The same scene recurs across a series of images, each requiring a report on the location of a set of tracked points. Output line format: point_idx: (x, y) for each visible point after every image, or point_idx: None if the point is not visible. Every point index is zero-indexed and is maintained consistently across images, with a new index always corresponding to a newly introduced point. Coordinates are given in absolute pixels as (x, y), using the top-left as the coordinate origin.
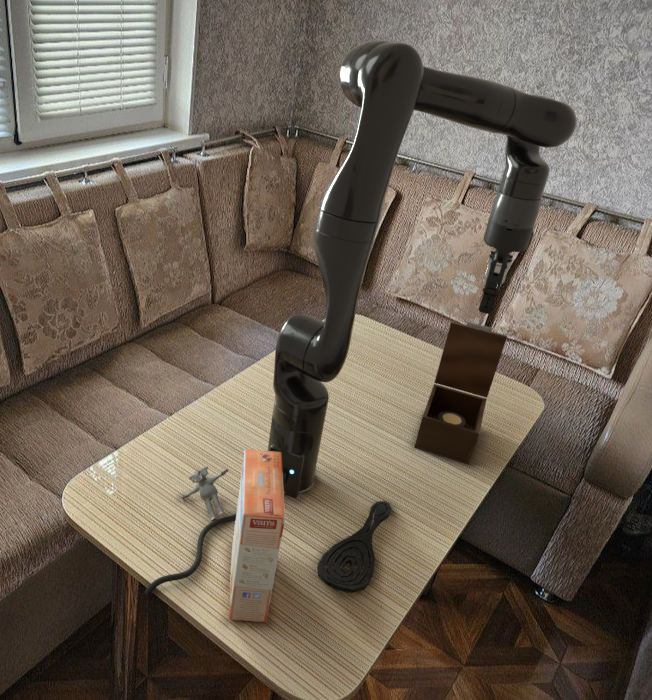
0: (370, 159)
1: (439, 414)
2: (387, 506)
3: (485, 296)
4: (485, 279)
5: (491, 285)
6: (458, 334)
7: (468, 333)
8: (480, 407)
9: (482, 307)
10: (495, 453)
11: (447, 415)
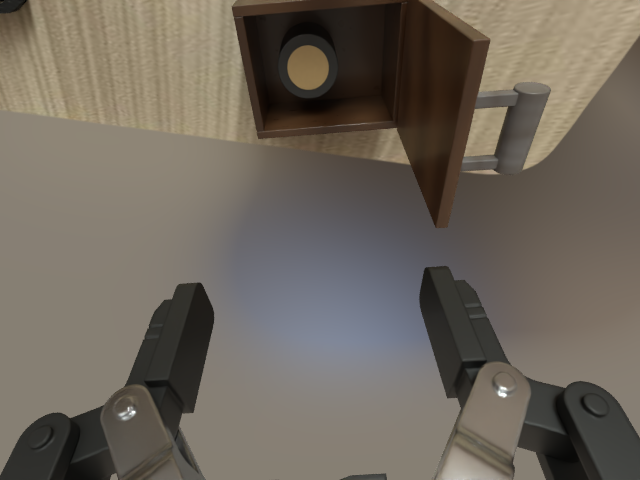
0: None
1: (309, 35)
2: (5, 2)
3: (128, 380)
4: (147, 466)
5: (438, 330)
6: (450, 73)
7: (449, 112)
8: (375, 117)
9: (154, 318)
10: (325, 140)
11: (315, 55)
